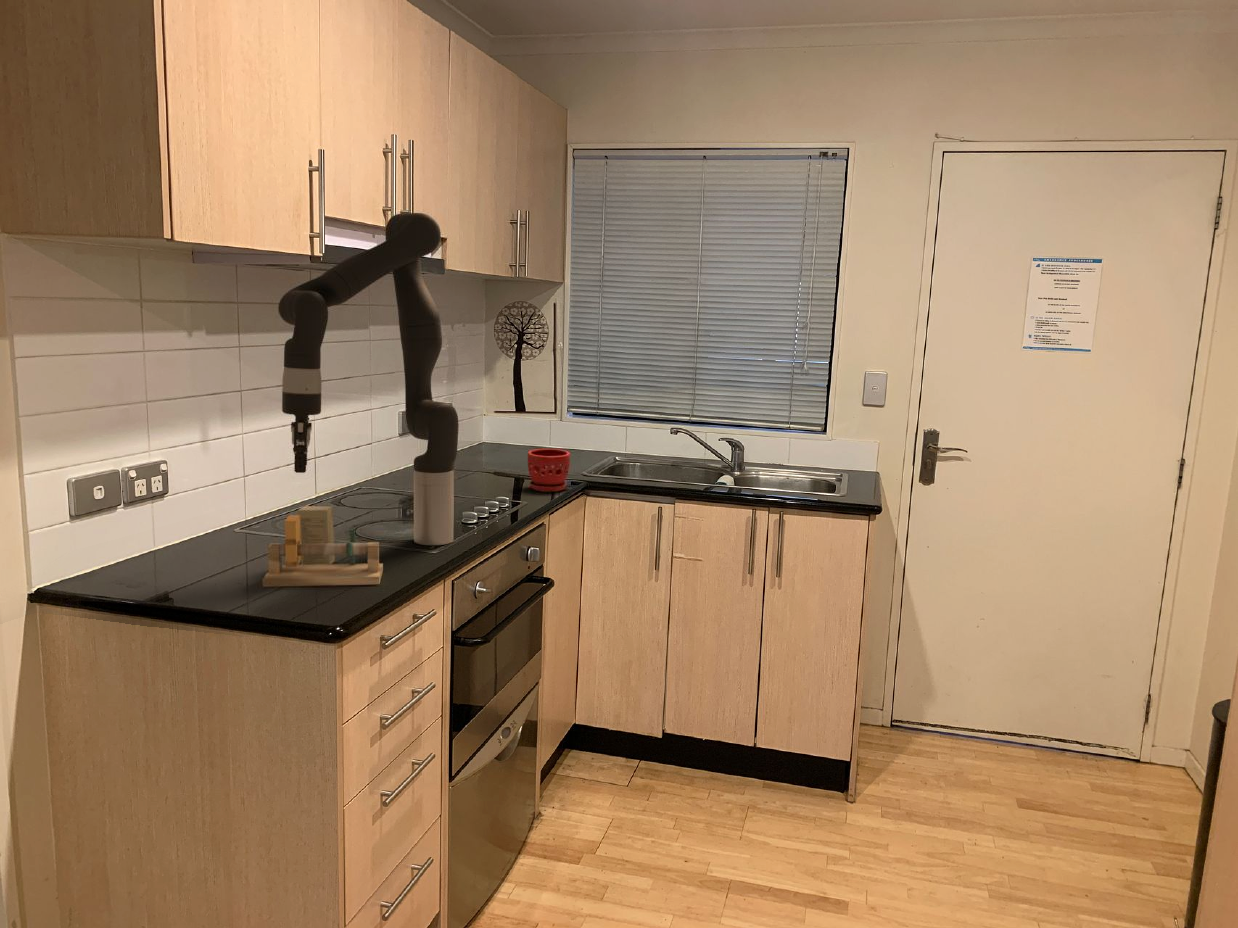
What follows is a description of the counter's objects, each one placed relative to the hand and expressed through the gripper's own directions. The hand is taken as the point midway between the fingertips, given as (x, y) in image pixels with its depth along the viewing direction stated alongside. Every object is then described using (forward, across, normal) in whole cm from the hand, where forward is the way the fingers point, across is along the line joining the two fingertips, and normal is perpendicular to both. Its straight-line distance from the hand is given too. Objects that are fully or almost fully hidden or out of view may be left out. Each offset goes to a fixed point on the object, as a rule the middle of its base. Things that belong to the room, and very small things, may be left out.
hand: (300, 469), depth 186 cm
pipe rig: (+21, -8, -5) cm, 23 cm away
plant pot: (+18, +77, -71) cm, 106 cm away
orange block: (+18, -7, +1) cm, 19 cm away
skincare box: (+21, +3, -4) cm, 22 cm away
